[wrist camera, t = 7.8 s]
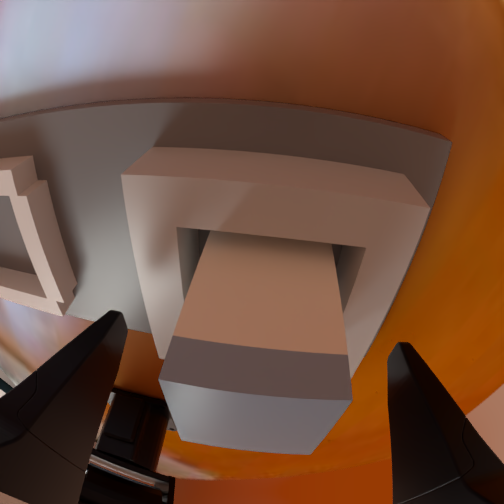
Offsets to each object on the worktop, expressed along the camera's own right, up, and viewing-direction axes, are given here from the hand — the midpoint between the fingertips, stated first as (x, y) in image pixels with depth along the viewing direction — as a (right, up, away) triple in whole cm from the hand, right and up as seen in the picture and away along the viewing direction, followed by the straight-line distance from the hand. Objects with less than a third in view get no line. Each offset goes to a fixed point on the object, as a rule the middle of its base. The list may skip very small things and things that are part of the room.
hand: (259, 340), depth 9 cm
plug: (0, +2, +3) cm, 4 cm away
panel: (-6, +4, +4) cm, 9 cm away
